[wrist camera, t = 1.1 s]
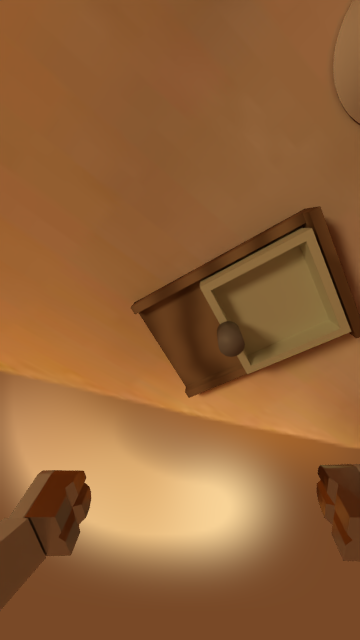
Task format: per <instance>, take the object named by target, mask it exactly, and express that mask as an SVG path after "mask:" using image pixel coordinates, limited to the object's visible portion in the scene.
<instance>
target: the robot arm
mask: <svg viewBox="0 0 360 640" xmlns="http://www.w3.org/2000/svg"><path fill="white" fill-rule="evenodd" d="M333 70H334V81H335V87H336V90H337V94H338V97H339V99H340V101H341V103H342V105H343V107H344V108H345V110H346V111H347V113H348V114H349V115H350V116H351V117H352V118H353V119H354V120H355V121H357V122H358V123H360V0H353V2H352V3H351V5H350V7H349V9H348V11H347V13H346V15H345V18H344V20H343V22H342V25H341V28H340V31H339V34H338V38H337V42H336V47H335V53H334V68H333ZM318 475H319V477H320V479H321V480H320V481H319V482H318V483H317V497H318V502H319V505H320V508H321V510H322V513H323V515H324V518H325V519H327V520H328V521H329V522H330V523H331V524H332V525H333V526H332V536H333V538H334V540H335V543H336V545H337V547H338V549H339V552H340V554H341V556H342V558H343V560H344V561H360V464H354V465H352V464H341V465H320V466H319V468H318ZM85 479H86V475H85V473H84V471H62V470H52V471H42V472H40V473H39V474H38V475H37V477H36V478H35V480H34V481H33V483H32V484H31V485H30V487H29V488H28V490H27V491H26V493H25V495H24V496H23V498H22V499H21V500H20V502H19V503H18V505H17V506H16V508H15V510H14V511H13V512H12V514H11V515H10V517H9V518H4V519H3V520H2V521H0V610H1V609H2V608H3V607H4V606H5V605H6V603H7V602H8V601H9V600H10V599H11V598H12V596H13V595H14V594H15V593H16V592H17V591H18V589H19V588H20V587H21V586H22V585H23V584H24V583H25V581H26V580H27V579H28V578H29V577H30V576H31V574H32V573H33V572H34V571H35V570H36V569H37V568H38V566H39V565H40V564H41V563H42V562H43V561H44V559H45V558H46V556H65V555H71V554H72V551H73V549H74V546H75V544H76V541H77V538H78V536H79V534H80V529H79V524H80V523H81V522H82V521H83V520H84V519H85V518H86V516H87V513H88V510H89V508H90V502H91V491H90V487H89V486H88V485H87V484H86V483H84V482H85Z"/></svg>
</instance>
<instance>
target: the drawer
mask: <svg viewBox="0 0 360 640" xmlns="http://www.w3.org/2000/svg"><path fill="white" fill-rule="evenodd" d="M200 289H201V291H202V292H203V294H204V296H205V298H206V300H207V302H208V303H209V305H210V307H211V309H212V311H213V313H214V314H215V316H216V318H217V320H218V322H219V324H220V325H219V326H218V328H217V338H218V346H219V350H220V352H221V353H222V354H224V355H225V356H229V357H234V356H237V357H238V358H239V360H240V362H241V364H242V366H243V368H244V369H245V371H246V373H247V374H249V373H252V372H254V371H257V370H259V369H262V368H264V367H267V366H269V365H271V364H274V363H276V362H279V361H281V360H284V359H286V358H288V357H291V356H293V355H296V354H298V353H301V352H303V351H305V350H308V349H310V348H313V347H315V346H318V345H320V344H322V343H325V342H327V341H330V340H332V339H335V338H337V337H339V336H342V335H344V334H347V333H349V332H351V329H350V327H349V324H348V322H347V319H346V316H345V314H344V311H343V308H342V306H341V303H340V300H339V298H338V295H337V293H336V290H335V287H334V285H333V282H332V279H331V277H330V274H329V271H328V269H327V266H326V264H325V261H324V258H323V256H322V253H321V250H320V248H319V245H318V242H317V240H316V237H315V235H314V232H313V229H312V228H298V229H296V230H294V231H292V232H290V233H289V234H287V235H285V236H283V237H281V238H279V239H277V240H275V241H274V242H272V243H270V244H268V245H266V246H264V247H262V248H261V249H259V250H257V251H255V252H253V253H251V254H249V255H247V256H246V257H244V258H242V259H240V260H238V261H236V262H234V263H232V264H231V265H229V266H227V267H225V268H223V269H221V270H219V271H218V272H216V273H214V274H212V275H210V276H208V277H206V278H204V279H203V280H201V281H200Z"/></svg>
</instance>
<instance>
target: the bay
mask: <svg viewBox="0 0 360 640" xmlns="http://www.w3.org/2000/svg"><path fill="white" fill-rule="evenodd" d="M298 228H312V229H313V232H314V235H315V237H316V240H317V242H318V245H319V248H320V250H321V253H322V256H323V258H324V261H325V264H326V266H327V269H328V271H329V274H330V277H331V279H332V282H333V285H334V287H335V290H336V293H337V295H338V298H339V300H340V303H341V306H342V308H343V311H344V314H345V316H346V319H347V322H348V324H349V327H350V329H351V332H349V333H350V334H351V335H353V336H354V337H356V338H359V337H360V315H359V313H358V310H357V307H356V304H355V302H354V299H353V296H352V293H351V290H350V288H349V285H348V282H347V279H346V277H345V274H344V271H343V268H342V266H341V263H340V260H339V257H338V254H337V252H336V249H335V246H334V243H333V241H332V238H331V235H330V232H329V229H328V227H327V224H326V221H325V218H324V216H323V213H322V210H321V207H320V206H319V207H313V208H307V209H304V210H302V211H300V212H298V213H296V214H295V215H293V216H291V217H289V218H287V219H285V220H284V221H282V222H280V223H278V224H276V225H275V226H273V227H271V228H269V229H267V230H265V231H264V232H262V233H260V234H258V235H256V236H255V237H253V238H251V239H249V240H247V241H245V242H244V243H242V244H240V245H238V246H236V247H235V248H233V249H231V250H229V251H227V252H226V253H224V254H222V255H220V256H218V257H216V258H215V259H213V260H211V261H209V262H207V263H206V264H204V265H202V266H200V267H198V268H196V269H195V270H193V271H191V272H189V273H187V274H186V275H184V276H182V277H180V278H178V279H176V280H175V281H173V282H171V283H169V284H167V285H166V286H164V287H162V288H160V289H158V290H156V291H155V292H153V293H151V294H149V295H147V296H146V297H144V298H142V299H140V300H138V301H137V302H135V303H134V304H133V305H132V306H131V309H132V310H133V312H134V314H137V313H139V314H140V316H141V317H142V319H143V320H144V322H145V323H146V325H147V327H148V328H149V330H150V331H151V333H152V334H153V336H154V338H155V339H156V341H157V342H158V344H159V345H160V347H161V348H162V350H163V352H164V353H165V355H166V356H167V358H168V359H169V361H170V362H171V364H172V366H173V367H174V369H175V370H176V372H177V373H178V375H179V377H180V378H181V380H182V381H183V383H184V384H185V386H186V390H185V393H186V394H187V396H188V397H189V398H190V397H192V396H194V395H197V394H199V393H202V392H204V391H207V390H209V389H211V388H214V387H216V386H219V385H221V384H224V383H226V382H228V381H231V380H233V379H236V378H238V377H241V376H243V375H245V374H247V373H246V371H245V369H244V368H243V366H242V364H241V362H240V360H239V358H238V357H237V356H234V357H229V356H225V355H224V354H222V353H221V352H220V350H219V346H218V338H217V328H218V326H219V325H220V324H219V322H218V320H217V318H216V316H215V314H214V313H213V311H212V309H211V307H210V305H209V303H208V302H207V300H206V298H205V296H204V294H203V292H202V291H201V289H200V281H201V280H203V279H204V278H206V277H208V276H210V275H212V274H214V273H216V272H218V271H219V270H221V269H223V268H225V267H227V266H229V265H231V264H232V263H234V262H236V261H238V260H240V259H242V258H244V257H246V256H247V255H249V254H251V253H253V252H255V251H257V250H259V249H261V248H262V247H264V246H266V245H268V244H270V243H272V242H274V241H275V240H277V239H279V238H281V237H283V236H285V235H287V234H289V233H290V232H292V231H294V230H296V229H298Z"/></svg>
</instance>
